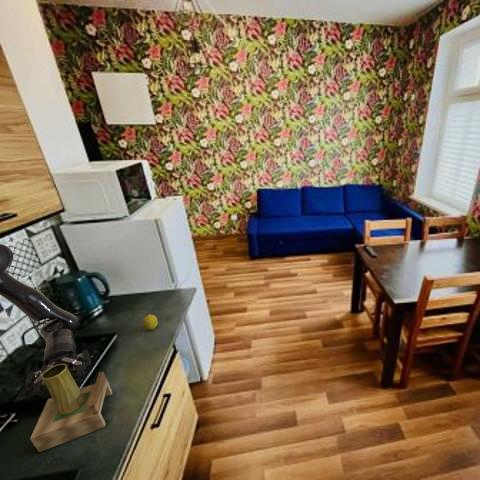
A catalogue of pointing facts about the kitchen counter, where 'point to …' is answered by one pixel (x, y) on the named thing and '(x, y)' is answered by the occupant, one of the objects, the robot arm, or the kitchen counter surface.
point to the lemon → (150, 322)
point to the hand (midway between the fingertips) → (60, 384)
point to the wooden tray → (72, 417)
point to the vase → (63, 389)
